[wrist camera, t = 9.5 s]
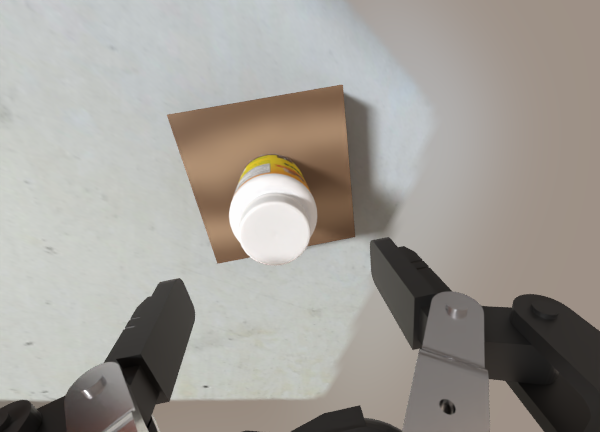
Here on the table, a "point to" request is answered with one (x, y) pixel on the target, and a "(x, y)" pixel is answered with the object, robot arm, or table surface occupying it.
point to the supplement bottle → (273, 210)
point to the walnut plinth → (268, 140)
